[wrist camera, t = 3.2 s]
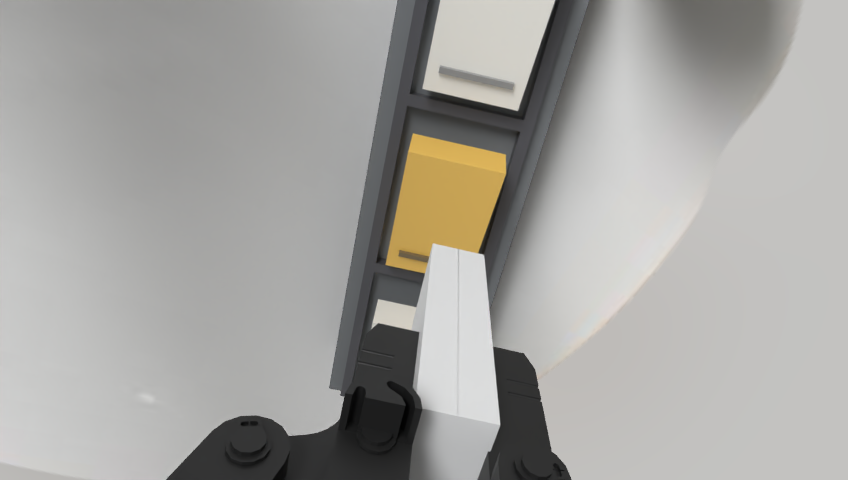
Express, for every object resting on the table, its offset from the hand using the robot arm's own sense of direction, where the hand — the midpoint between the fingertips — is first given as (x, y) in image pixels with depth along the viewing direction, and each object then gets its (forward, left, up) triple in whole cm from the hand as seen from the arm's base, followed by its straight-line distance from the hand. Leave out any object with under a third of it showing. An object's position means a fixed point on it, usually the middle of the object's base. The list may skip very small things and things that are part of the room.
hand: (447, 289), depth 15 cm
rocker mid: (+3, 0, -14) cm, 14 cm away
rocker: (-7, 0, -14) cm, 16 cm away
